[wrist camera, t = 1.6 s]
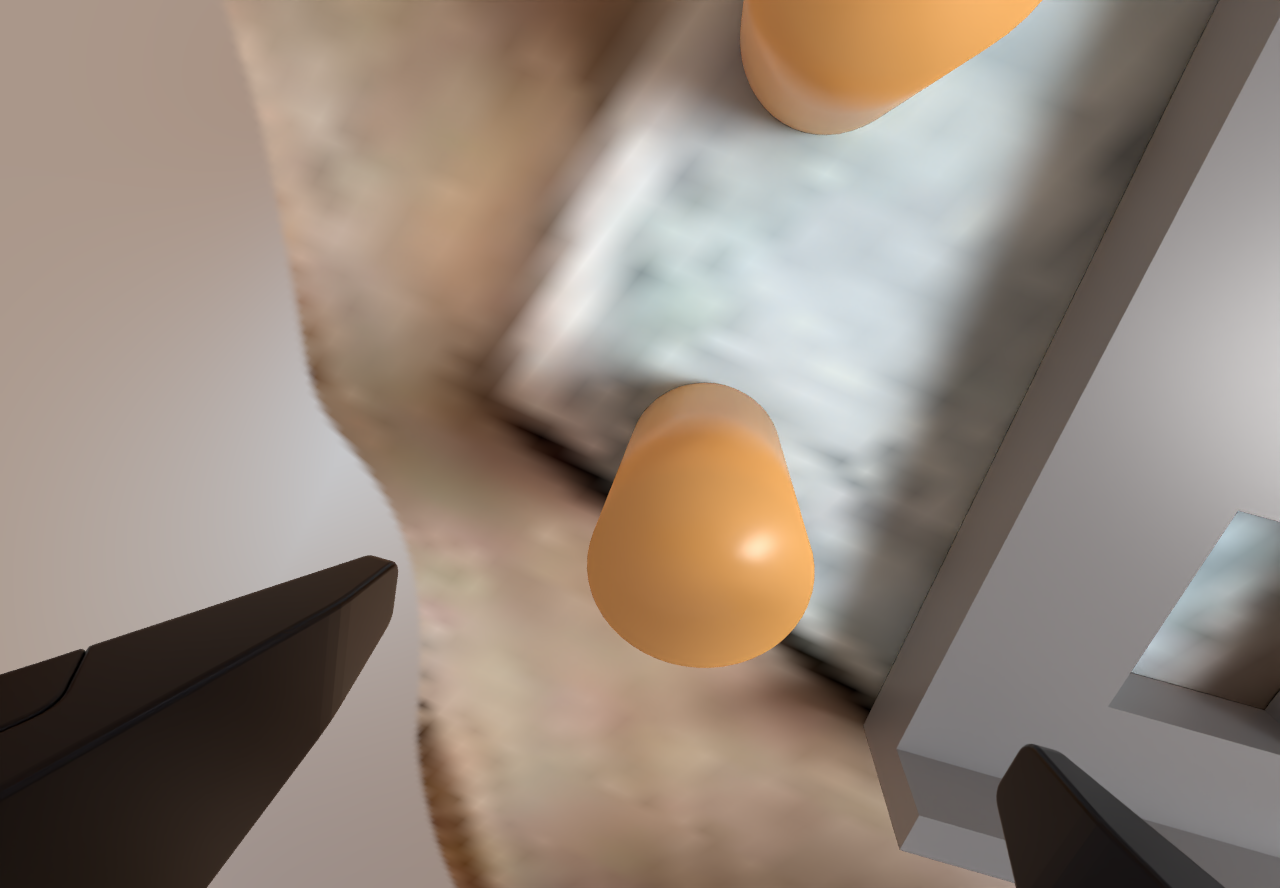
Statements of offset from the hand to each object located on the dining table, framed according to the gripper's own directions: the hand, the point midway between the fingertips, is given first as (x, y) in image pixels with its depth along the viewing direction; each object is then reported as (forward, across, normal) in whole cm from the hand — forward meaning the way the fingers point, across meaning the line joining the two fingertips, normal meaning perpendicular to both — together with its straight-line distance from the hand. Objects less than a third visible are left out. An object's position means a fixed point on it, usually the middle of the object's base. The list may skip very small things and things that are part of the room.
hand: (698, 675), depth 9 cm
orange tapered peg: (+8, 0, 0) cm, 9 cm away
